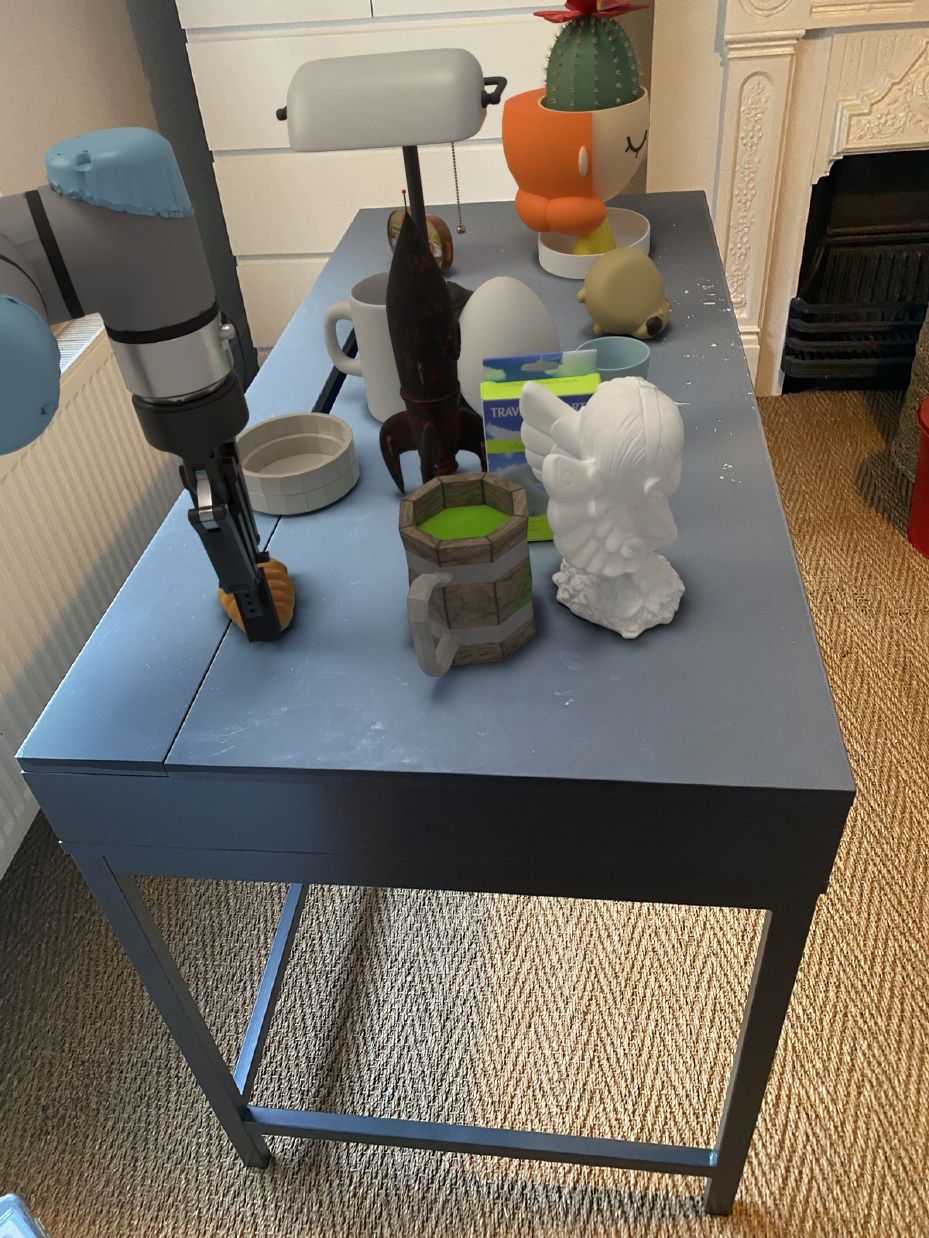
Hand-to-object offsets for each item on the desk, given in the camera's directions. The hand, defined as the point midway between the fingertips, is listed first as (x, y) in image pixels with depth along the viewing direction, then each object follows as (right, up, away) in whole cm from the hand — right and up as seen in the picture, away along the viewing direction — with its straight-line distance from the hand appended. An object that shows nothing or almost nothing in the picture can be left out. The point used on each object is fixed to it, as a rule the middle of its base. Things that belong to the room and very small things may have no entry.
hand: (265, 634), depth 80 cm
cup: (+33, +20, +21) cm, 44 cm away
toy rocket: (+15, +14, +17) cm, 26 cm away
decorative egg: (+22, +26, +30) cm, 46 cm away
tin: (+11, +57, +67) cm, 88 cm away
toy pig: (+38, +39, +42) cm, 69 cm away
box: (+25, +10, +10) cm, 29 cm away
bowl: (-1, +16, +21) cm, 27 cm away
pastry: (-1, +2, +6) cm, 6 cm away
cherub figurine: (+30, +3, +1) cm, 30 cm away
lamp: (+12, +42, +50) cm, 66 cm away
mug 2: (+17, -1, -1) cm, 17 cm away
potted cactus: (+35, +58, +65) cm, 94 cm away
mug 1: (+9, +27, +33) cm, 44 cm away
